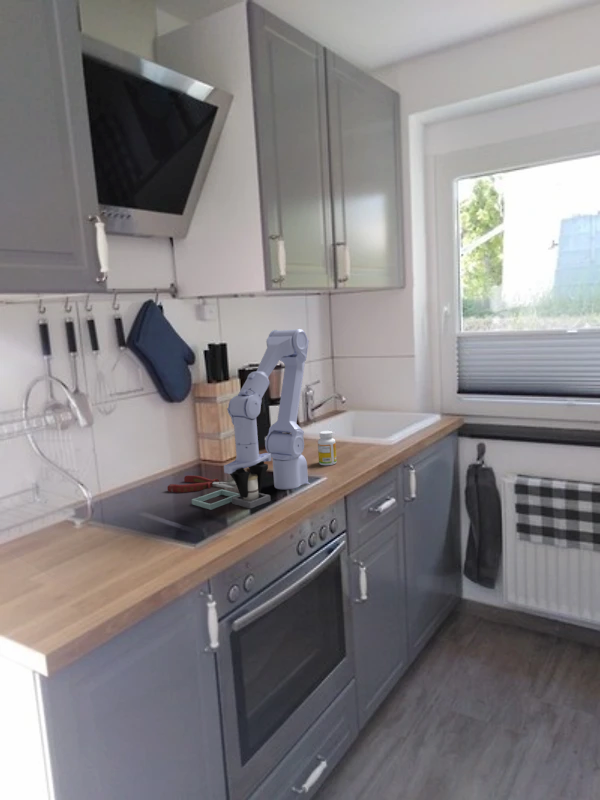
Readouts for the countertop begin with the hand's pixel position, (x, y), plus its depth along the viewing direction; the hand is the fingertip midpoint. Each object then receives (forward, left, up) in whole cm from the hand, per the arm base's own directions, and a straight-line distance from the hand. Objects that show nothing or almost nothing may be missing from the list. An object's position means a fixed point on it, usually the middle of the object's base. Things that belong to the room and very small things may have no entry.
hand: (250, 494), depth 149 cm
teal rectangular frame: (+5, -9, -3) cm, 10 cm away
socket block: (0, 0, -3) cm, 3 cm away
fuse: (0, 0, -2) cm, 2 cm away
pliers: (-2, -23, -4) cm, 24 cm away
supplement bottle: (-41, -9, -3) cm, 43 cm away
